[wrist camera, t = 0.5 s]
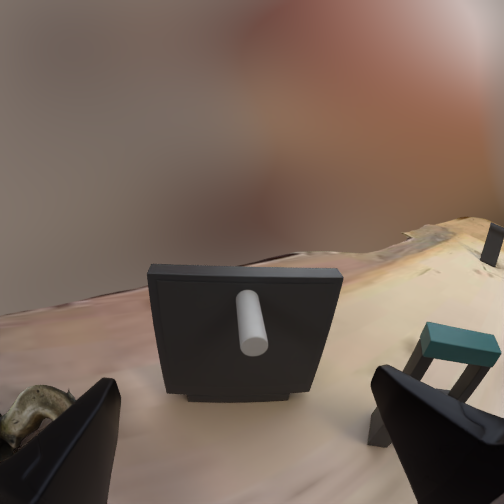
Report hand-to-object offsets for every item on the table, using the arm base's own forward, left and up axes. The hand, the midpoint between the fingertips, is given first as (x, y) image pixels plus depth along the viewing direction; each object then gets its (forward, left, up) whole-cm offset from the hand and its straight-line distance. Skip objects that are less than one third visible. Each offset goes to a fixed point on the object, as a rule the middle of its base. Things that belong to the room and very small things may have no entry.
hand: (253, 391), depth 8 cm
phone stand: (+36, -87, -17) cm, 95 cm away
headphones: (+2, -17, -16) cm, 24 cm away
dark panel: (+12, -2, -16) cm, 20 cm away
